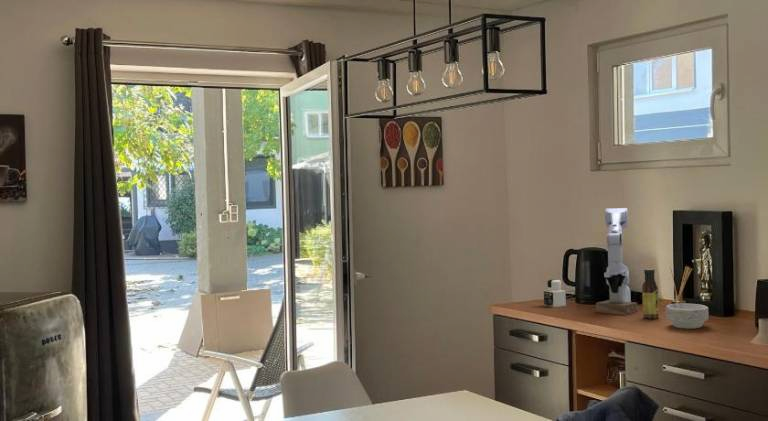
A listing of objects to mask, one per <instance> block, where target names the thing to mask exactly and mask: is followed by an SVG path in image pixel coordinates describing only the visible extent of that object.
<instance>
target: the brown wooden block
mask: <svg viewBox="0 0 768 421" xmlns="http://www.w3.org/2000/svg"><path fill="white" fill-rule="evenodd" d="M595 313H602V314H611V315H619V316H620V315H621V316H627V315H631V314H634V313H638V302H635V301H634V302H632V301H631V302H625V301H622V304H617V303H610V299H608V300H607V299H606V300H604V301H599V302H595Z"/></svg>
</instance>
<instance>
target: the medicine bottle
mask: <svg viewBox="0 0 768 421" xmlns="http://www.w3.org/2000/svg"><path fill="white" fill-rule="evenodd" d="M566 300H567V298H566V289H565V290H564V289H562V281H561V280H560V279H555V278H554V279H548V280H547V289H544V290H543V305H544V306H545V307H549V308H559V307H566V305H567V304H566Z"/></svg>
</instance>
